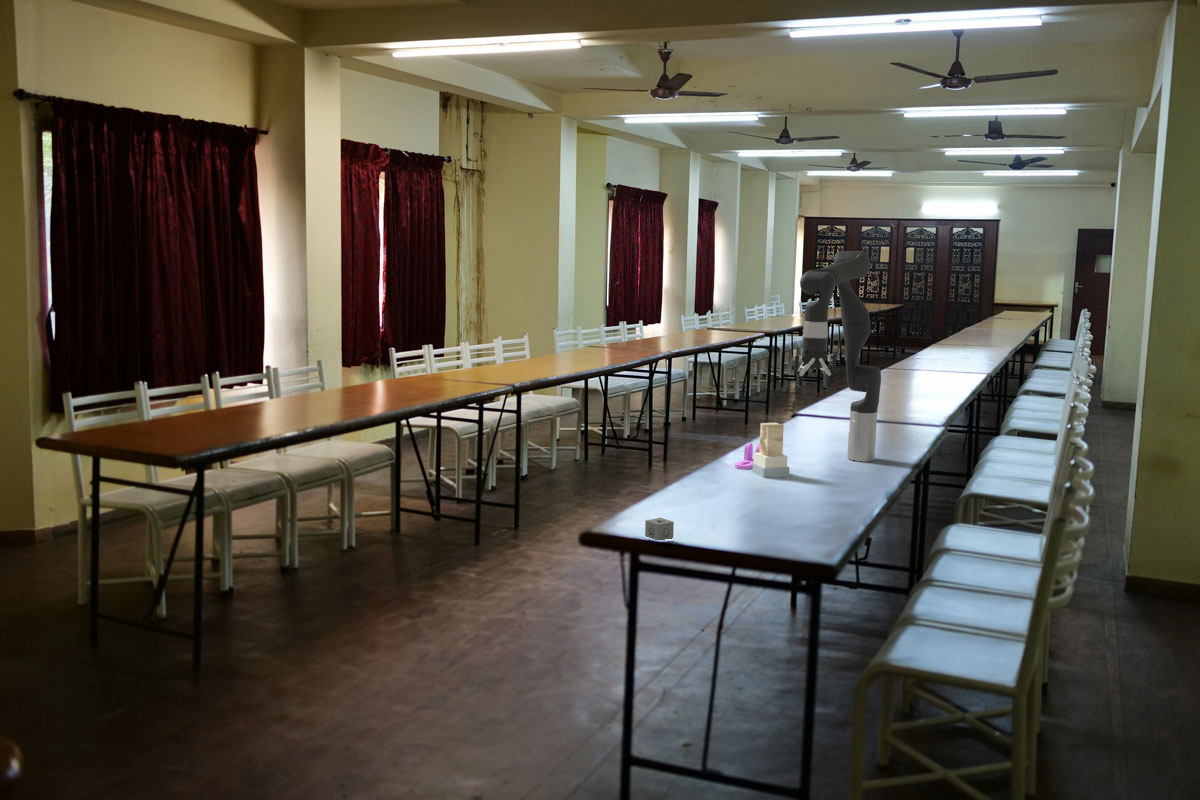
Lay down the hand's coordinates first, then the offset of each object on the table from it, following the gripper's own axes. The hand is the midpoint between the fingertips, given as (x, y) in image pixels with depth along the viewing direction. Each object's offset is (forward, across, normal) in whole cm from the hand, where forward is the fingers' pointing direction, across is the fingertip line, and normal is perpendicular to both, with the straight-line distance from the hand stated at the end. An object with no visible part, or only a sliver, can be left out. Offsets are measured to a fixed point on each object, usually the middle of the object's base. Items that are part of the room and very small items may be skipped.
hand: (812, 387), depth 329 cm
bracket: (+30, +10, -26) cm, 41 cm away
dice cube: (+30, +67, +57) cm, 93 cm away
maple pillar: (+24, +8, -12) cm, 28 cm away
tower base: (+31, +8, -12) cm, 34 cm away
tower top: (+27, +8, -12) cm, 31 cm away
